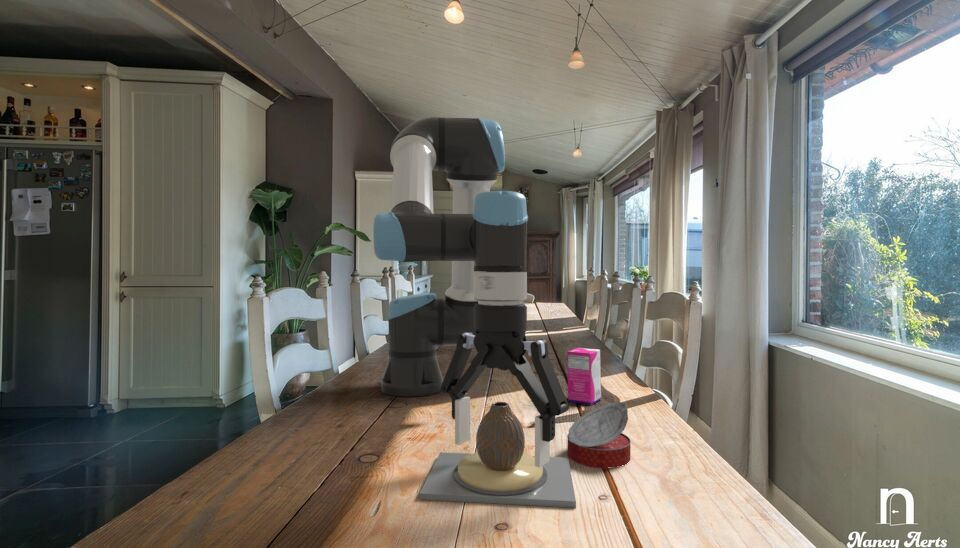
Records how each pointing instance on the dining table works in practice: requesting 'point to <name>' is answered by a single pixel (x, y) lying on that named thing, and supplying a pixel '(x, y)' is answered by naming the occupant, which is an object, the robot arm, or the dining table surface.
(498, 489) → the board
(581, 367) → the supplement box
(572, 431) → the canned food
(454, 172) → the robot arm
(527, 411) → the dining table surface
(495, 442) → the vase
